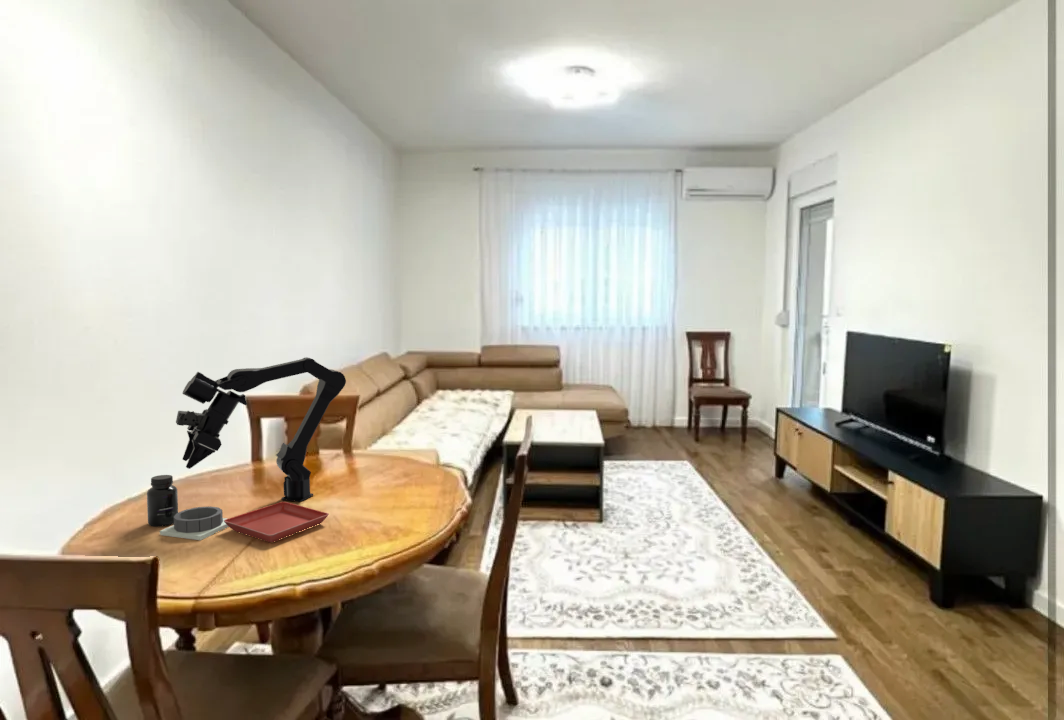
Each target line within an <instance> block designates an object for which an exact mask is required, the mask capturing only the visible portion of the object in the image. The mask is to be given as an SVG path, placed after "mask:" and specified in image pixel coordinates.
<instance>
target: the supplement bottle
mask: <svg viewBox="0 0 1064 720" xmlns="http://www.w3.org/2000/svg"><path fill="white" fill-rule="evenodd" d="M173 484H174V480H173V475H172V474H171V475H170V474H161V475H155V476H152V477H151V478H150V486H151V487H150V488H148V490H147V492H146V507H147V508H146V510H147V512H146V513H147V525H149V526H151V527H156V528H160V527H169V526H172V525H174V516H175V515H176V513H178V512H179V502H178V501H179V499H178V497H179V495H178V489H177V487H176V485H173ZM171 524H172V525H171Z"/></svg>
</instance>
